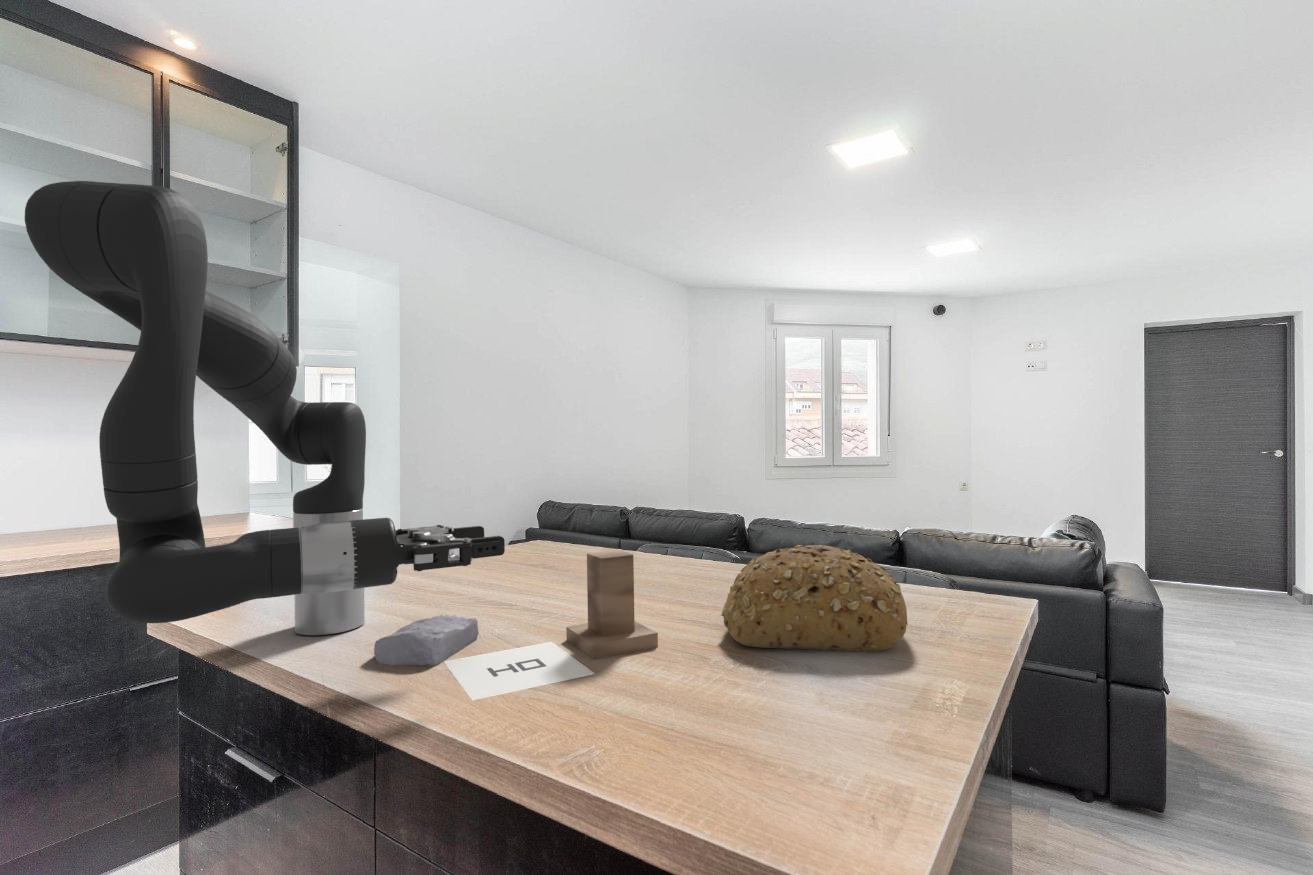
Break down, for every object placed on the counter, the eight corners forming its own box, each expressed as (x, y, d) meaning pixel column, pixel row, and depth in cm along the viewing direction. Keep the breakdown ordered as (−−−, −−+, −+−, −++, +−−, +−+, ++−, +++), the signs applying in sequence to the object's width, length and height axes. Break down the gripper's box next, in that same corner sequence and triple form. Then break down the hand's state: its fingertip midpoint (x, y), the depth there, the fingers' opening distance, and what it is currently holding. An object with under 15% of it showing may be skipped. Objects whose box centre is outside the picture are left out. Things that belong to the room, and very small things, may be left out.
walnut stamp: (566, 641, 86) (565, 552, 87) (626, 630, 91) (624, 545, 91) (594, 661, 79) (592, 563, 79) (657, 647, 83) (656, 555, 83)
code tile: (443, 662, 79) (443, 661, 79) (551, 642, 86) (551, 641, 86) (472, 701, 67) (472, 700, 67) (595, 674, 74) (595, 673, 74)
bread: (884, 613, 98) (882, 534, 98) (923, 661, 77) (921, 561, 77) (724, 610, 101) (722, 534, 101) (719, 656, 80) (717, 559, 80)
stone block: (367, 680, 79) (441, 668, 77) (361, 641, 79) (434, 628, 77) (420, 652, 90) (486, 641, 88) (414, 618, 91) (479, 606, 89)
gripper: (353, 530, 64) (511, 516, 73) (340, 513, 77) (476, 502, 85) (355, 604, 65) (512, 581, 73) (342, 575, 77) (478, 559, 85)
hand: (493, 539), depth 79 cm, fingers open, 8 cm apart
